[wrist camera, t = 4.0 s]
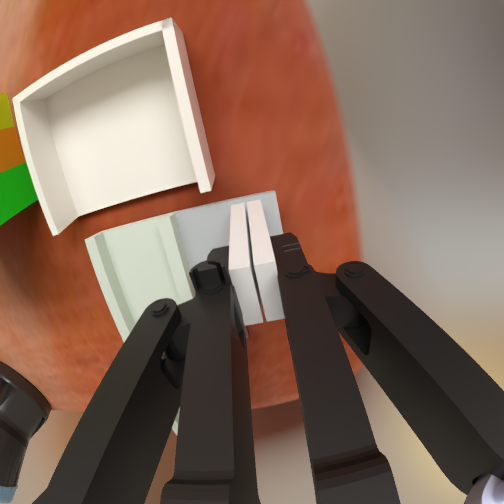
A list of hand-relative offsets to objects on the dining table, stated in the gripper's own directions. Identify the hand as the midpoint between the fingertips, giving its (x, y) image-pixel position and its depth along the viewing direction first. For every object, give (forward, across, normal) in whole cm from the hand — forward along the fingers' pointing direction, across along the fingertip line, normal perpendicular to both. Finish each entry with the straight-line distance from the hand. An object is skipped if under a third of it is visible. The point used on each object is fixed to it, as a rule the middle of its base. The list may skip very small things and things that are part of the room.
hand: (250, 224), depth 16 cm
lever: (0, -4, -9) cm, 10 cm away
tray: (+3, -7, +7) cm, 11 cm away
